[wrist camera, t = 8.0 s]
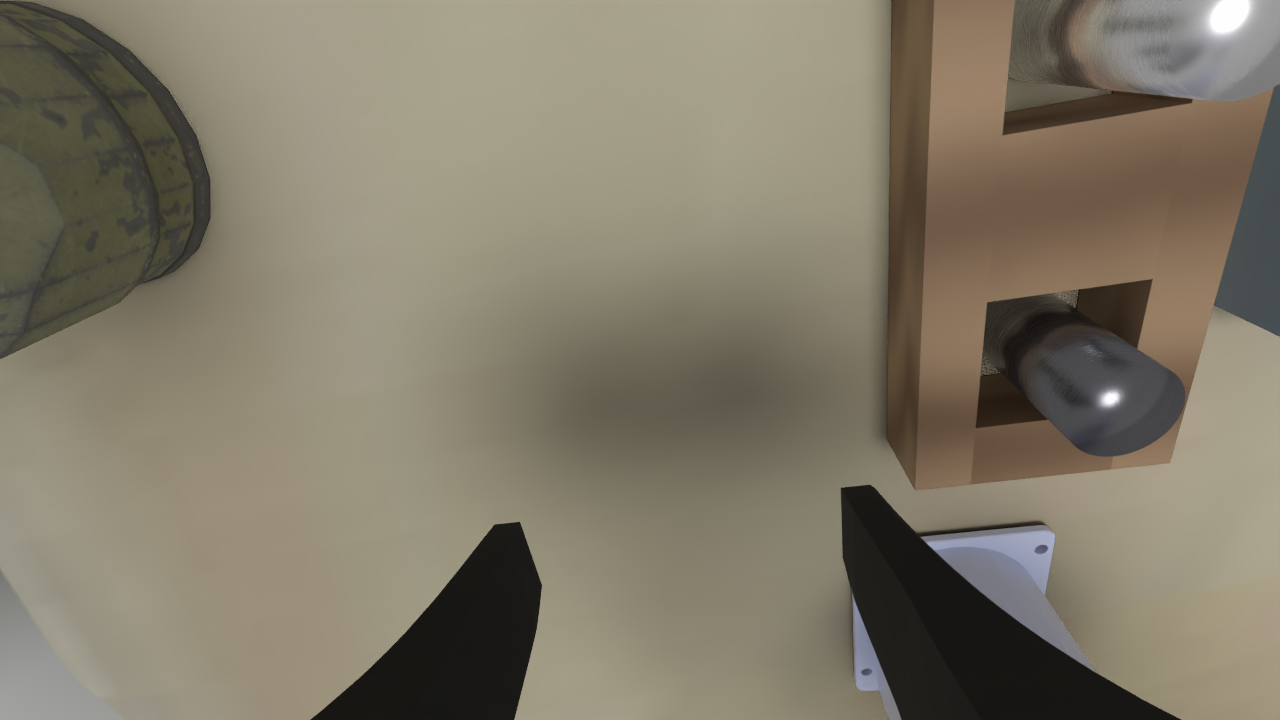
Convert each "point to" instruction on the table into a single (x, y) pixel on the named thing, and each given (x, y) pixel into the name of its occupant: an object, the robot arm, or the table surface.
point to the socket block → (1257, 236)
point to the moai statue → (86, 175)
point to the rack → (1039, 236)
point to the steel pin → (1149, 46)
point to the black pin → (1081, 375)
